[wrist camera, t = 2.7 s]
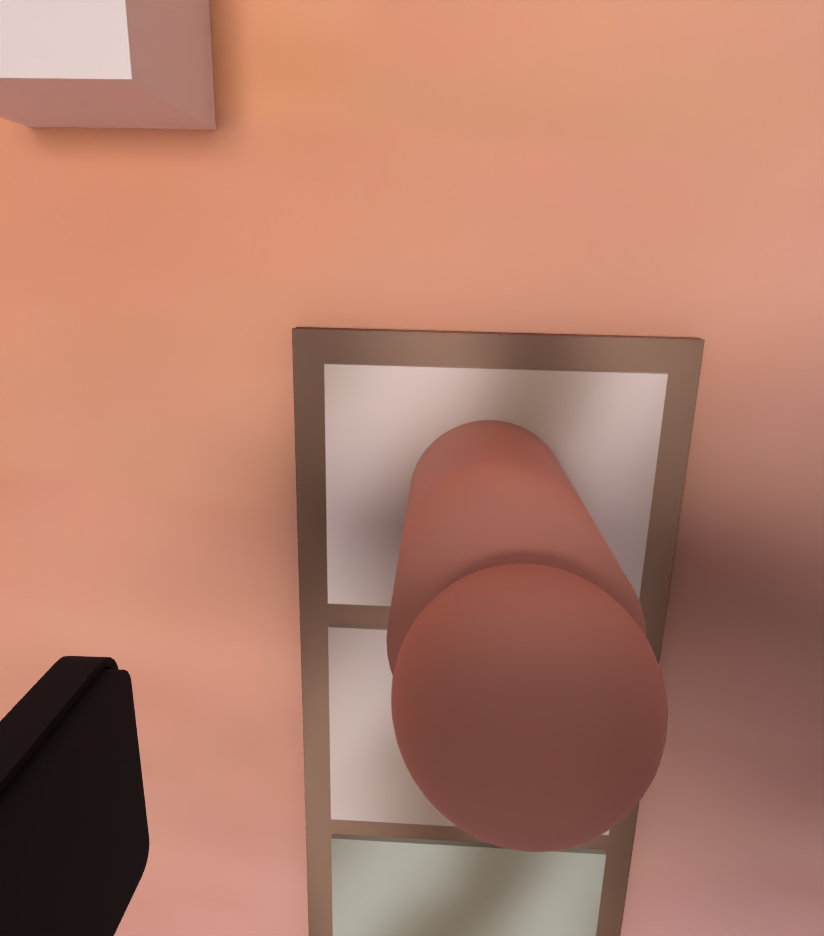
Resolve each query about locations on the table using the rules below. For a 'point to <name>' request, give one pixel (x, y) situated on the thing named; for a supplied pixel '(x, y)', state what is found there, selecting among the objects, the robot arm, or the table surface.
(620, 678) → the pink cylindrical peg
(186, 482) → the table surface
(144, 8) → the die
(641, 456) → the game board
